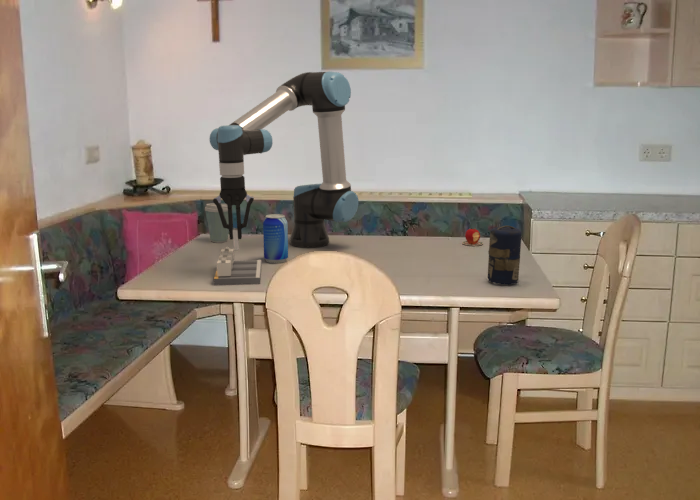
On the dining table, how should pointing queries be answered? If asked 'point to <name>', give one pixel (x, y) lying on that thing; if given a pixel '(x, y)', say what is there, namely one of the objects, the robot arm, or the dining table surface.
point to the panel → (237, 271)
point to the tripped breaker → (227, 256)
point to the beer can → (275, 238)
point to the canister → (504, 255)
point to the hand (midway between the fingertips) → (236, 249)
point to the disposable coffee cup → (216, 223)
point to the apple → (472, 238)
